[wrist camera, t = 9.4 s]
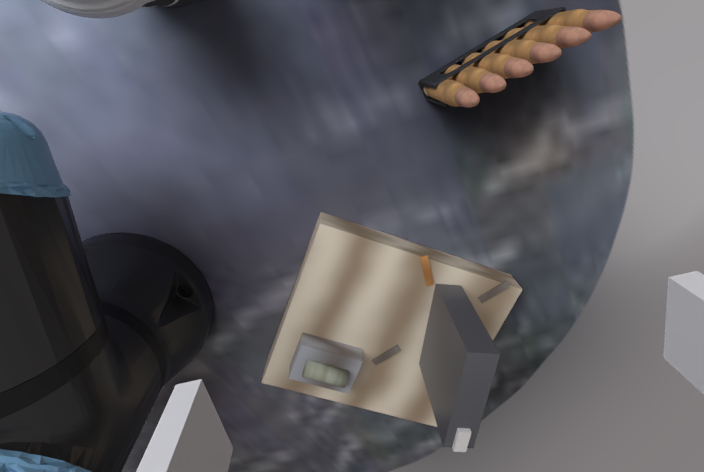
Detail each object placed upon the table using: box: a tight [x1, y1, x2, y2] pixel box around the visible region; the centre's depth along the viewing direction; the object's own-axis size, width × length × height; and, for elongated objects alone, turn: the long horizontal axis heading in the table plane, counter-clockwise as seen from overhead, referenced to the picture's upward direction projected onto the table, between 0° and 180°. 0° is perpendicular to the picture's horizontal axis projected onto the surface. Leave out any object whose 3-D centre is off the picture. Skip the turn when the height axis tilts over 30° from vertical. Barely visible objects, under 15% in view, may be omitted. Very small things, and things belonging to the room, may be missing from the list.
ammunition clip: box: [419, 7, 621, 108], centre depth 31 cm, size 11×2×12 cm, turn 120°
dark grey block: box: [419, 284, 500, 452], centre depth 38 cm, size 9×2×10 cm, turn 174°
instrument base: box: [262, 212, 523, 427], centre depth 43 cm, size 20×18×6 cm
